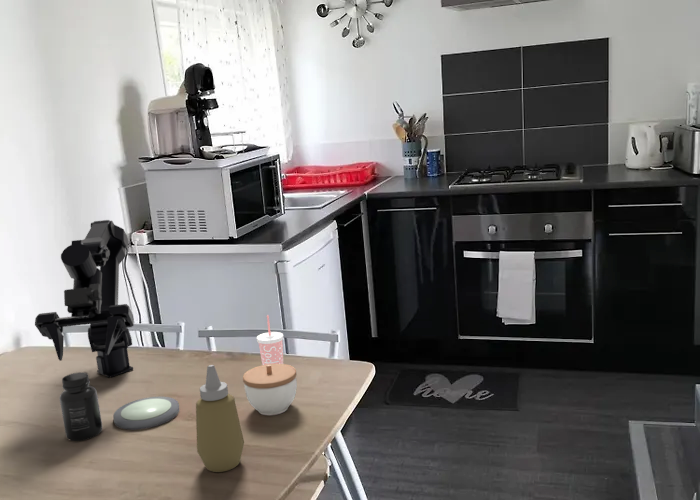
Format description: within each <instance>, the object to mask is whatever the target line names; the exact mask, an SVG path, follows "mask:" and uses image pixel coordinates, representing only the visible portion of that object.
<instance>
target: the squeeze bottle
mask: <svg viewBox="0 0 700 500" xmlns="http://www.w3.org/2000/svg"><path fill="white" fill-rule="evenodd" d="M219 377H220V376H219V375H218V372H217V369H216V367H215V365H214V364H210V365H208V366H207V367H206V377H205V384H202V385H201V386H200V387H199V394H200V398H199V399H198V400H197V401H196V403H195V414H196V415H195V418H196V419H195V422H196V428H195V429H196V450H197V453H198V456H199V457H200V459H201V462H202V464H203V465H204V468H206V469H207V470H208V471H209V472H213V473H222V472H228V471H230V470H232V469H233V470H234V468H236V467H237V466H238V465H239V464H240V462H241V458H242V454H243V450H244V444H245V440H244V435H243V431H242V427H241V426H242V425H241V422H240V417H239V413H238V409H237V405H236V400H235V397H234V396H233V395H232V394H231V393H229V389H228V383H226V382H225V381H221V380H220V378H219Z"/></svg>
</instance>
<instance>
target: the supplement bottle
mask: <svg viewBox="0 0 700 500" xmlns="http://www.w3.org/2000/svg"><path fill="white" fill-rule="evenodd" d="M61 381H62V389H63V391H62V392H61V393H60V395H59V403H60V410H61V416H62V421H63V426H64V431H65V436H66V438H67V440H70V441H72V442H79V441H80V442H81V441H87V440H90V439H92V438H95V437H96V436H98V435H100V434H101V432H102V431H103V422H102V415H101V409H100V403H99V397H98V393H97V392H98V391H97V389H96V388H95V386H93V385H91V384H90V383H91V381H90V376H89V373H88V372H84V371H83V372H82V371H81V372H74V373H70V374H67V375H65V376H64V377H63V378H62V379H61Z"/></svg>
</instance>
